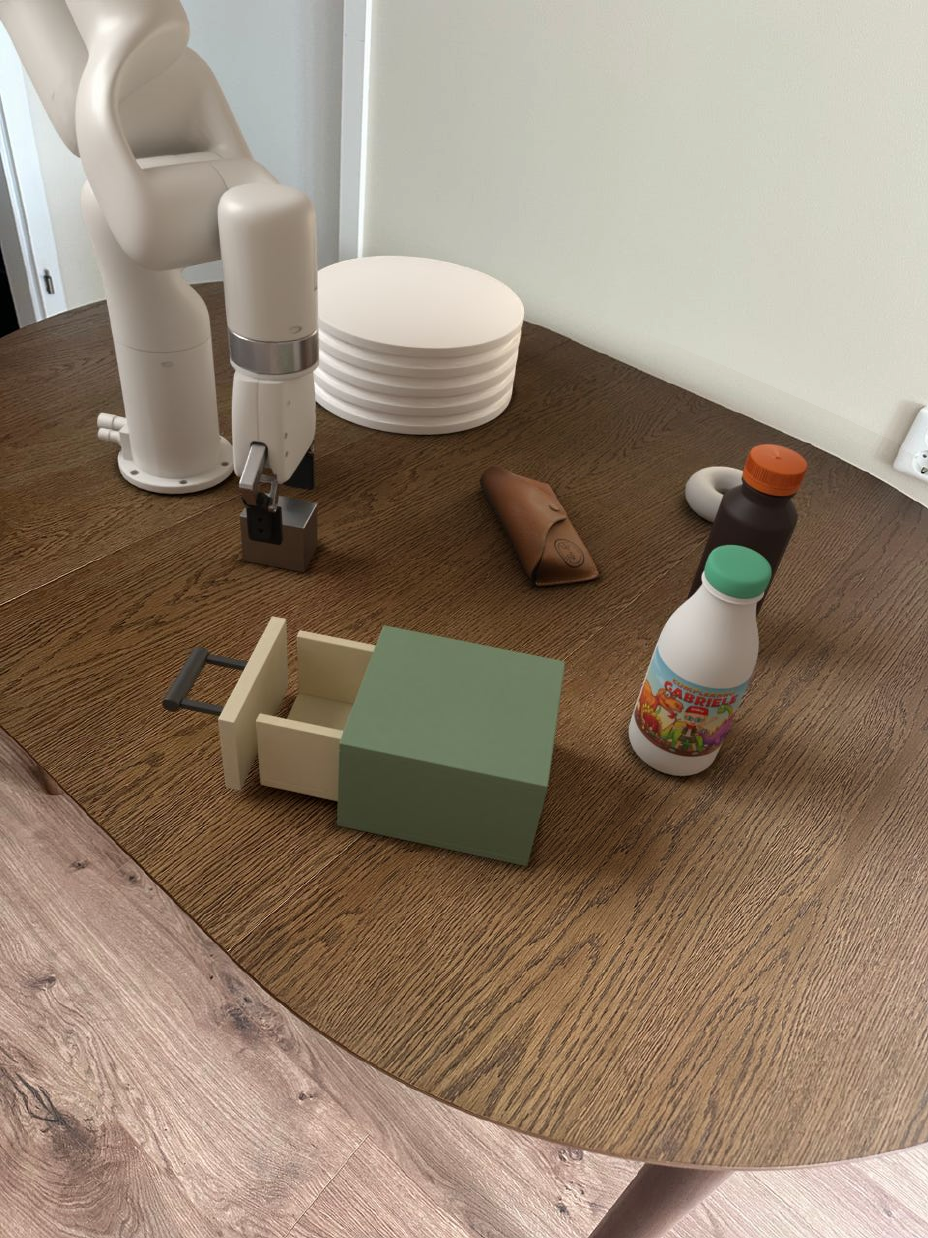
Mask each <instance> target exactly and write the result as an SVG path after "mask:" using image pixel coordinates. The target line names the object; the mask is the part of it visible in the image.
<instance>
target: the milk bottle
mask: <svg viewBox="0 0 928 1238" xmlns="http://www.w3.org/2000/svg"><path fill="white" fill-rule="evenodd" d="M771 573H772V570H771V566H770V564H769V563H768V561H767V560H766V559H765V558H764V557H763V556H761V555H760V554H759V553H757V552H755V551H753V550H751V549H749V548H746V547H742V546H737V545H725V546H720V547H718V548H716V549H714V550H713V551H712V552H711V554H710V555H709V557H708V559H707V562H706V565H705V569H704V572H703V574H702V585H701V586H700V588H699V589H698V590H697V592H696V593H695V594H694V595H693V596H692V597H691V598H689V599H688V600H687V599H686V600H687V601H684V602H683V603H682V604H681V605H680V606H679V607H678V608H677V609H675V611H674V612H673V613H672V614H671V616H670V617H669V618H668V620H667V622H666V623H665V625H664V626H663V629H662V630H661V633H660V634H659V637H658V640H657V642H656V645H655V647H654V650H653V653H652V656H651V659H650V662H649V665H648V667H647V670H646V673H645V676H644V678H643V682H642V685H641V687H640V691H639V694H638V697H637V700H636V703H635V706H634V709H633V712H632V715H631V718H630V722H629V725H628V738H629V741H630V745H631V747H632V749H633V751H634V753H635V755H636V756H638V757H639V758H640V760H641V761H642V762H644V763H645V764H647V765H648V766H649V767H651V768H652V769H655V770H656V771H657V772H661V773H664V774H667V775H671V776H679V777H687V776H693V775H696V774H699V773H701V772H703V771H705V770H707V769H708V768H709V767H710V766H711V765H712V764H713V763H714V761H715V760H716V758H717V755H718V754H719V752H720V750H721V747H722V745H723V743H724V741H725V739H726V737H727V734H728V732H729V729H730V728H731V725H732V722H733V720H734V718H735V716H736V714H737V711H738V709H739V707H740V704H741V702H742V700H743V697H744V695H745V693H746V690H747V688H748V686H749V683H750V680H751V679H752V676H753V673H754V670H755V668H756V665H757V660H758V656H759V647H760V638H759V637H760V636H759V630H758V623H757V619H756V604H757V602H758V601H759V600H761V599H762V597H763V595H764V591H765V590H766V588H767V586H768V584H769V581H770V578H771Z"/></svg>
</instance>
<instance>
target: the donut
mask: <svg viewBox="0 0 928 1238" xmlns="http://www.w3.org/2000/svg"><path fill="white" fill-rule="evenodd" d="M742 473H743V470H741V469H737V468H734V467H729V466H709V467H705V468H704V467H703V468H701V469H699V470H698V471H696V472H695V473H693V474H692V475H691V476H690V477H689V479H688V480H687V482H686V484H685V493H684V494H685V495H684V496H685V499H686V501H687V504H688V505H689V507H690V508H691V509H692V511H694V512H695V514H697V515H698V516H699V517H701V518H702V519H704V520H706V521H707V522H708V523H709V522H710V523H712V524H713V523H714V520H715V517H716V514H717V511H718V509H719V506H720V503H721V500H722V497H723V495H724V494H725V493H726V492H727V491H729V490H730V489H731V488H734V487H736V486H738V485H741V484H743V483H742V480H741V478H742Z"/></svg>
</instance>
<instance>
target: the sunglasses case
mask: <svg viewBox="0 0 928 1238" xmlns="http://www.w3.org/2000/svg"><path fill="white" fill-rule="evenodd" d="M479 484H480V488H481V489H482V491H483V493H484V495H485V496H486V498H487V500H488V502H489V503H490V505H491V507H492V509H493V510H494V512H495V514H496V516H497V518H498V520H499V521H500V523H501V526H502V528H503V530H504V532H505V533H506V535H507V537H508V539H509V541H510V543H511V545H512V547H513V549H514V551H515V553H516V555H517V557H518V559H519V561H520V564H521V565H522V567H523V569H524V571H525V573H526V575H527V577H528V578H529V579H530V581H532V583H533V584H534V585H535V586H537V587H554V586H564V585H571V584H577V583H581V582H582V583H583V582H588V581H593V580H595V579H597V578H598V577H599V576H600V573H599V570H598V567H597V566H596V564H595V562H594V560H593V557H592V556H591V554H590V553H589V551H588V549H587V547H586V545H585V544H584V542H583V540H582V539H581V537H580V535H579V533H578V531H577V530H576V528H575V527H574V525H573V523H572V522H571V519H569V517H568V514H567V511H566V510H565V509H564V507H563V506H562V504H561V503H560V501H559V500H558V497H557V496H556V494H555V492H554V491H553V489H552V487H551V485H550V484H549V483H546V482H542V481H538V480H535V479H532V478H530V477H526V476H522V475H520V474H516V473H514V472H512V471H510V470H507V469H506V468H504V467H502V466H500V465H497V464H495V465H494V464H493V465H490V466H488V467H486V469H485V470H484V471H483V472H482V473H481V474H480V478H479Z"/></svg>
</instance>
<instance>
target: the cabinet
mask: <svg viewBox="0 0 928 1238" xmlns="http://www.w3.org/2000/svg"><path fill="white" fill-rule="evenodd" d="M375 645H376V646H375V649H374V651H373V654H372V657H371V659H370V662H369V665H368V667H367V670H366V673H365V675H364V678H363V681H362V683H361V686H360V689H359V691H358V694H357V697H356V699H355V702H354V705H353V707H352V710H351V713H350V715H349V718H348V720H347V723H346V726H345V728H344V731H343V734H342V736H341V739H340V742H339V765H338V801H337V818H336V819H337V820H336V821H337V824H336V825H337V826H338V827H342V828H348V829H352V830H357V831H362V832H366V833H370V834H375V835H380V836H384V837H389V838H394V839H399V840H403V841H408V842H412V843H417V844H421V845H425V846H430V847H435V848H440V849H445V850H449V851H453V852H459V853H463V854H467V855H473V856H478V857H482V858H487V859H490V860H495V861H499V862H504V863H509V864H515V865H520V866H524V867H527V866H528V864H529V861H530V858H531V857H530V856H531V852H532V848H533V845H534V842H535V837H536V834H537V831H538V830H537V829H538V826H539V824H540V820H541V815H542V812H543V808H544V804H545V801H546V796H547V792H548V788H549V784H550V775H551V769H552V762H553V761H552V760H553V756H554V755H553V754H554V747H555V740H556V733H557V726H558V718H559V711H560V703H561V697H562V690H563V683H564V675H565V668H566V667H565V666H566V661H564V660H559V659H555V658H551V657H550V658H549V657H545V656H544V657H543V656H540V655H534V654H531V653H526V652H520V651H514V650H510V649H505V648H500V647H495V646H490V645H485V644H480V643H476V642H470V641H466V640H461V639H460V640H459V639H455V638H451V637H450V638H449V637H445V636H440V635H434V634H430V633H425V632H419V631H415V630H409V629H405V628H400V627H395V626H390V625H382V627H381V630H380V633H379V635H378V638H377V640H376V644H375Z"/></svg>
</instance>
